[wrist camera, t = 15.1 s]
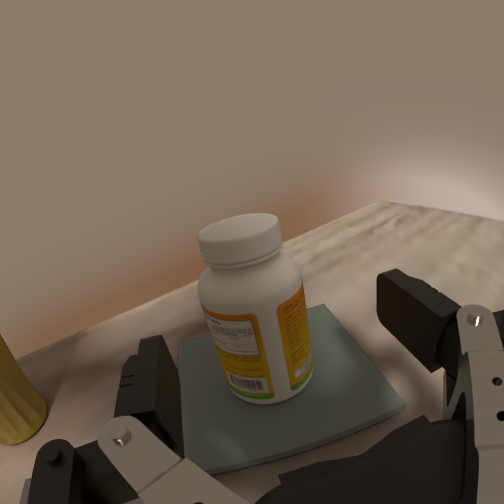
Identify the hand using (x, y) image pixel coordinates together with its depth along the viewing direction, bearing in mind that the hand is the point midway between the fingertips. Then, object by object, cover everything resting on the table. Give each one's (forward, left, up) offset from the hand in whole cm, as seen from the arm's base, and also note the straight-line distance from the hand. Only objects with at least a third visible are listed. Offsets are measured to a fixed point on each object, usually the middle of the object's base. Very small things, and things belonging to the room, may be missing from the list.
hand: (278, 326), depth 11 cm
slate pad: (0, +6, -8) cm, 10 cm away
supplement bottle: (0, +6, -8) cm, 9 cm away
